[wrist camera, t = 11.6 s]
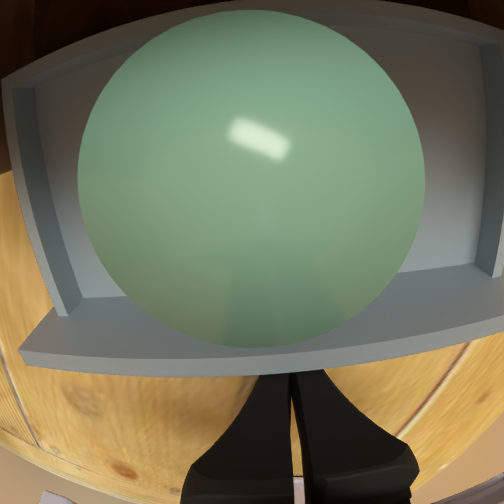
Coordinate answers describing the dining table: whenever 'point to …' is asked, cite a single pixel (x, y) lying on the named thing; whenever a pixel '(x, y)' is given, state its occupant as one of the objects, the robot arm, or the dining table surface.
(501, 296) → the drawer tray
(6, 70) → the wooden drawer box
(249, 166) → the sea green cylinder
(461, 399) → the dining table surface
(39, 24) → the dining table surface
